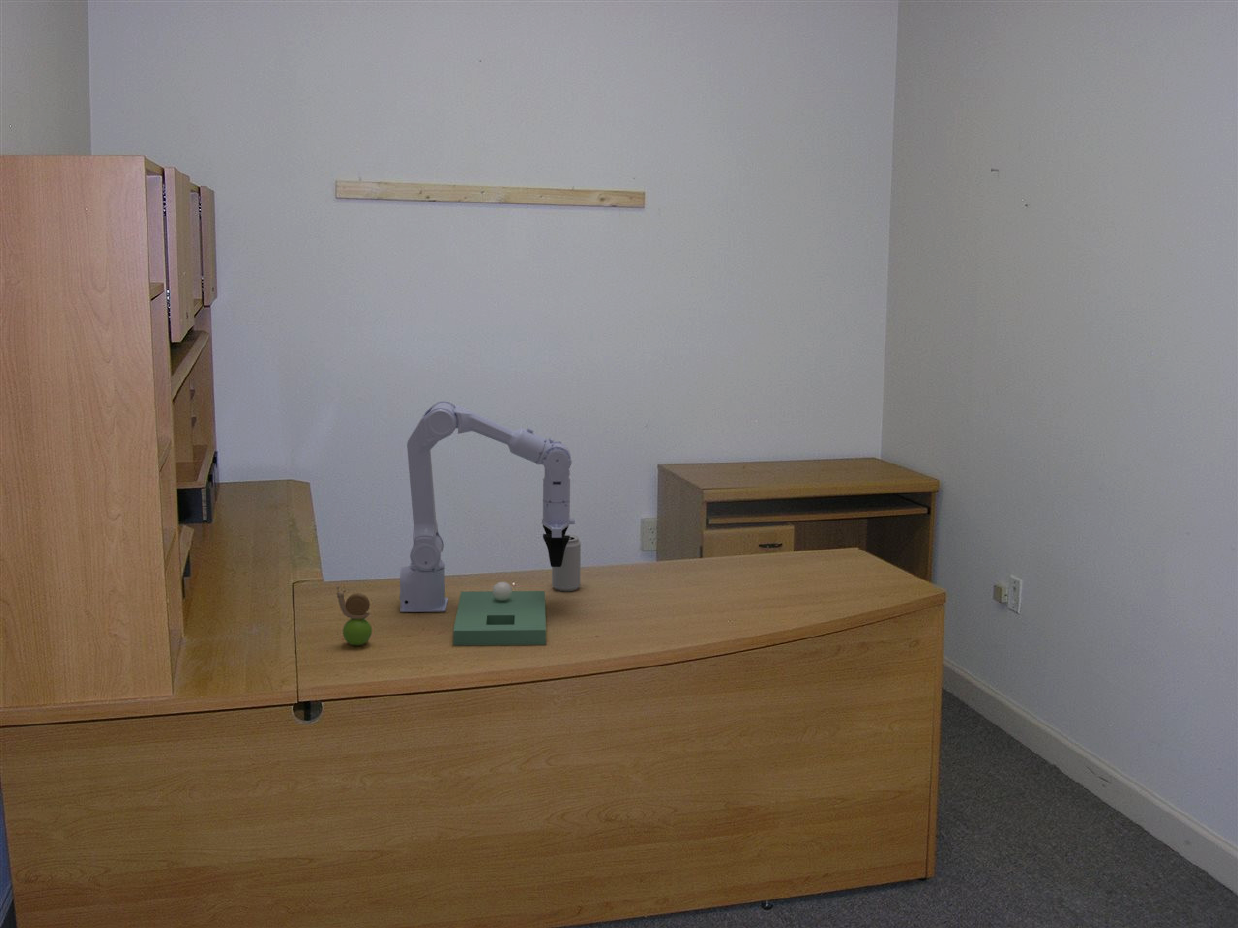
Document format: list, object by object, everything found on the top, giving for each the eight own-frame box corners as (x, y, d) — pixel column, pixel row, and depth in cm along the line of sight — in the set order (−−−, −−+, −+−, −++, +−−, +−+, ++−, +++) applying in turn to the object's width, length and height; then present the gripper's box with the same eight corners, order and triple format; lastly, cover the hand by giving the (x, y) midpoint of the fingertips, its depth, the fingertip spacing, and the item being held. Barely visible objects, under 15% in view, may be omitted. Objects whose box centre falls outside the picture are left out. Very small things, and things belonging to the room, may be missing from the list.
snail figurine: (340, 639, 215) (338, 581, 213) (373, 639, 216) (372, 581, 213) (336, 649, 210) (333, 590, 208) (370, 649, 211) (368, 589, 208)
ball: (492, 603, 229) (492, 585, 228) (493, 597, 233) (493, 579, 232) (511, 603, 229) (511, 585, 228) (511, 597, 233) (511, 579, 232)
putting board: (453, 645, 213) (453, 630, 213) (461, 604, 237) (461, 591, 236) (545, 644, 215) (545, 630, 214) (544, 604, 238) (544, 590, 238)
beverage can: (576, 593, 246) (577, 542, 243) (548, 591, 247) (549, 539, 245) (583, 584, 252) (583, 534, 249) (556, 582, 253) (556, 532, 251)
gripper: (576, 508, 226) (575, 571, 229) (574, 492, 240) (573, 551, 243) (542, 508, 225) (541, 571, 228) (541, 491, 240) (541, 551, 242)
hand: (555, 561), depth 236 cm, fingers open, 7 cm apart
